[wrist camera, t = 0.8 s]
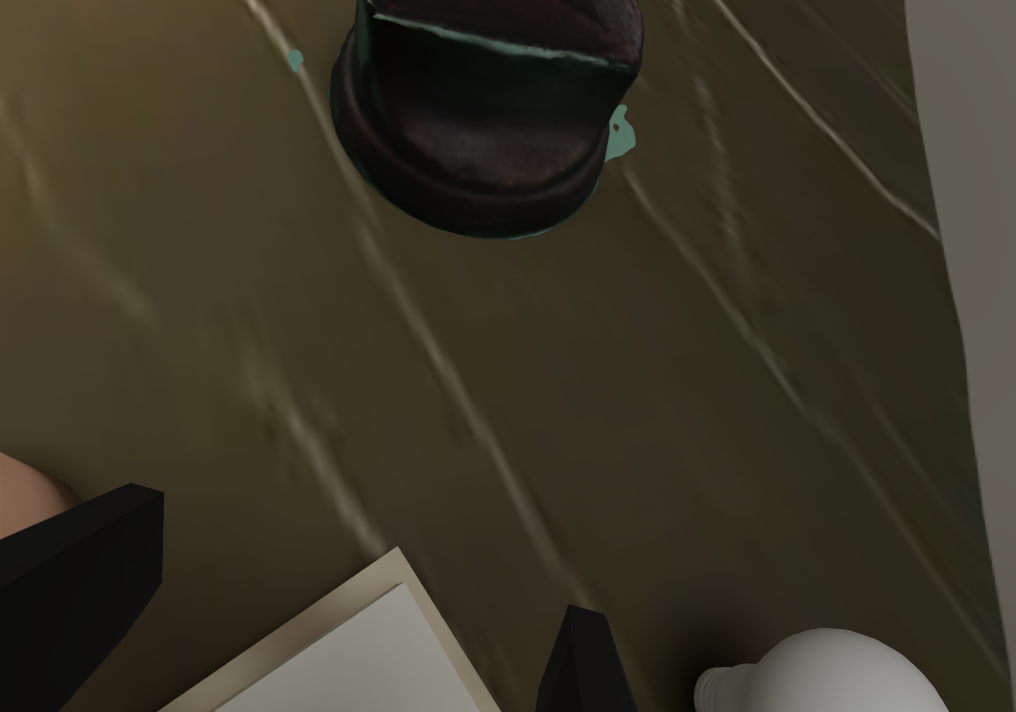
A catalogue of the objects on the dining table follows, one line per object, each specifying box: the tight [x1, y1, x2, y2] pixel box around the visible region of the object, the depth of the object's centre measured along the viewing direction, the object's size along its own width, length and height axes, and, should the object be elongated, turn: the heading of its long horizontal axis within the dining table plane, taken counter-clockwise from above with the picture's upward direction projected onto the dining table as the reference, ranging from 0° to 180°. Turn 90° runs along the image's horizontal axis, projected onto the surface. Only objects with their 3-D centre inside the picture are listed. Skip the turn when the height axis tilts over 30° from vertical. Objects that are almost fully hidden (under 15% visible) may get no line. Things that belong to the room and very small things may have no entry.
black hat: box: [287, 0, 644, 240], centre depth 32 cm, size 20×20×9 cm
